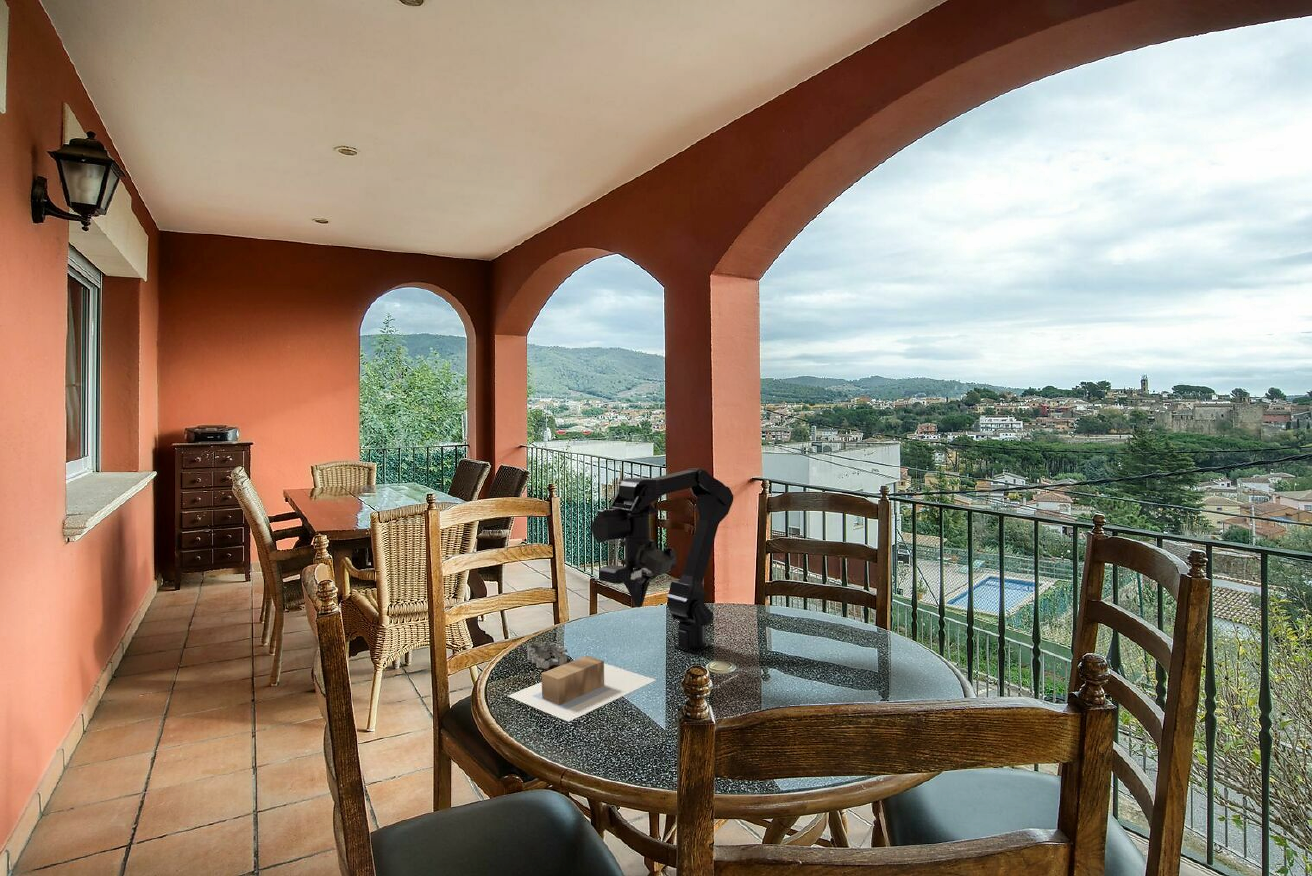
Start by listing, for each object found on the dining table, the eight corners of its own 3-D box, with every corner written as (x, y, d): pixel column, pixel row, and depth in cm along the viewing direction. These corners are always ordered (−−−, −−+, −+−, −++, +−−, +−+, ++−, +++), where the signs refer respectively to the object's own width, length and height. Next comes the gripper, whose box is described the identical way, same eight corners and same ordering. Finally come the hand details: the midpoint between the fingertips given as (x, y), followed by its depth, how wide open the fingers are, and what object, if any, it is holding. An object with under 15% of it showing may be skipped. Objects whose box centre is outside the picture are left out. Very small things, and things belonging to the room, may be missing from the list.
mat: (595, 662, 153) (595, 660, 153) (656, 682, 141) (656, 680, 141) (507, 698, 135) (507, 695, 135) (568, 724, 123) (568, 721, 123)
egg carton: (569, 668, 151) (569, 650, 151) (536, 674, 148) (535, 655, 148) (557, 652, 161) (556, 635, 160) (525, 658, 158) (524, 640, 158)
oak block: (586, 655, 142) (541, 673, 133) (603, 661, 139) (558, 679, 130) (587, 679, 142) (542, 698, 133) (604, 685, 139) (559, 705, 130)
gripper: (635, 547, 137) (637, 624, 138) (692, 533, 151) (694, 603, 152) (596, 541, 145) (598, 614, 145) (654, 528, 159) (656, 595, 159)
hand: (639, 606), depth 150 cm, fingers closed
